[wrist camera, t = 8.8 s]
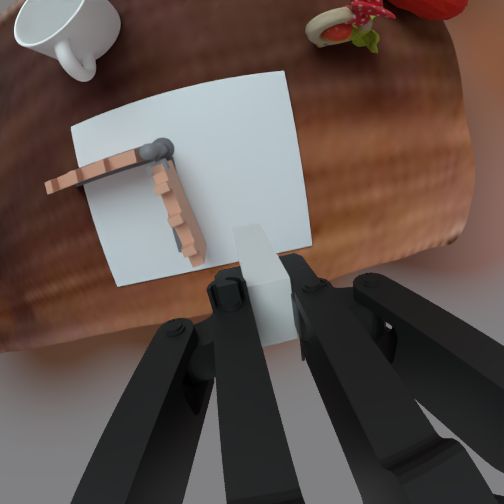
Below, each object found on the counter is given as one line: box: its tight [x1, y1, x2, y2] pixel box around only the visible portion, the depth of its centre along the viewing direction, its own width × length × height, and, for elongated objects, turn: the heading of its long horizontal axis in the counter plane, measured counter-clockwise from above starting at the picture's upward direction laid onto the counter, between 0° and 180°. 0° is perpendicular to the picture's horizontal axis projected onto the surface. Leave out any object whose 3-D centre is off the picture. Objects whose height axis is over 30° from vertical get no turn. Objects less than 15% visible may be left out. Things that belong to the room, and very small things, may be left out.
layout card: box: [71, 71, 312, 287], centre depth 29 cm, size 25×20×1 cm
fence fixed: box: [45, 143, 168, 194], centre depth 24 cm, size 12×1×7 cm, turn 100°
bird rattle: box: [305, 0, 395, 53], centre depth 20 cm, size 6×11×9 cm
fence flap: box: [146, 158, 207, 268], centre depth 26 cm, size 10×2×6 cm, turn 19°
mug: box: [14, 0, 121, 82], centre depth 17 cm, size 12×8×10 cm
